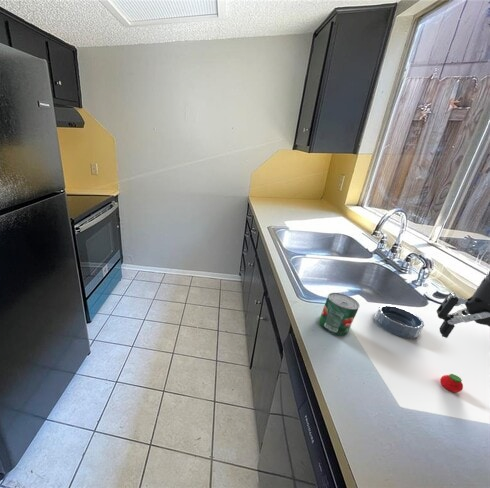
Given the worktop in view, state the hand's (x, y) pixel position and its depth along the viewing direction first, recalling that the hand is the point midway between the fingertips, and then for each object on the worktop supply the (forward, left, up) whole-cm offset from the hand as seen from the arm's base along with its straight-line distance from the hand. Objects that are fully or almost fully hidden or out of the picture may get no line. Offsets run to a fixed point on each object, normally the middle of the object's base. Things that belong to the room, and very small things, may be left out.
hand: (469, 344), depth 58 cm
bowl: (+9, -18, -13) cm, 24 cm away
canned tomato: (+24, -4, -13) cm, 28 cm away
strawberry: (-1, +1, -13) cm, 13 cm away
